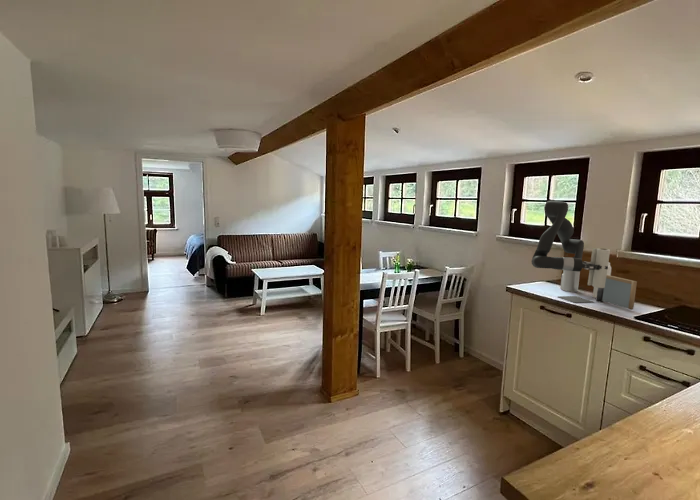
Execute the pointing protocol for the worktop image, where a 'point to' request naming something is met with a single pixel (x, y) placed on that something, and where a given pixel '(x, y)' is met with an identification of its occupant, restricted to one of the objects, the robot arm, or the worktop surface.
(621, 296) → the picture frame
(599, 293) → the post
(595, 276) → the white carton
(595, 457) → the worktop surface
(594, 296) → the milk
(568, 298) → the mat
